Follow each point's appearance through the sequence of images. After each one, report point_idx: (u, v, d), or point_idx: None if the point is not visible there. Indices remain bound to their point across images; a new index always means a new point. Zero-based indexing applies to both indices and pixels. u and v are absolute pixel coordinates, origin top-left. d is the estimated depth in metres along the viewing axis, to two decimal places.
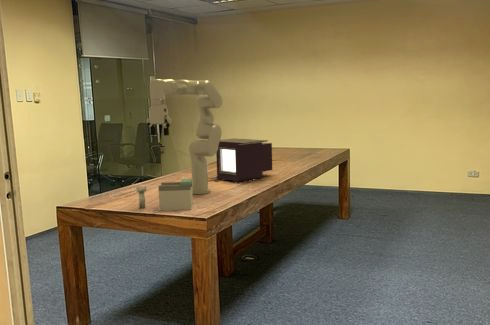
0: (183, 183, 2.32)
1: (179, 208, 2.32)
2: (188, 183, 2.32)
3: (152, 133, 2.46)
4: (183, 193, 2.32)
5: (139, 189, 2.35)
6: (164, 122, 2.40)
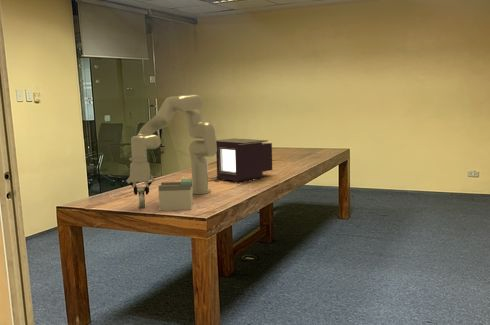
0: (183, 183, 2.32)
1: (179, 208, 2.32)
2: (188, 183, 2.32)
3: None
4: (183, 193, 2.32)
5: (139, 189, 2.35)
6: None
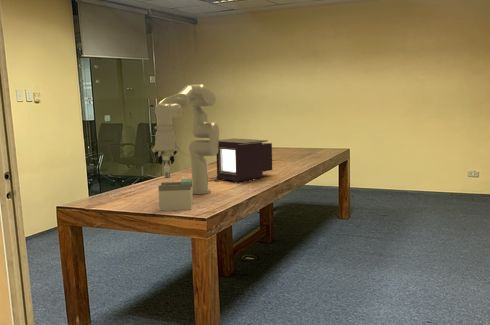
0: (183, 183, 2.32)
1: (179, 208, 2.32)
2: (188, 183, 2.32)
3: None
4: (183, 193, 2.32)
5: (164, 158, 2.32)
6: None
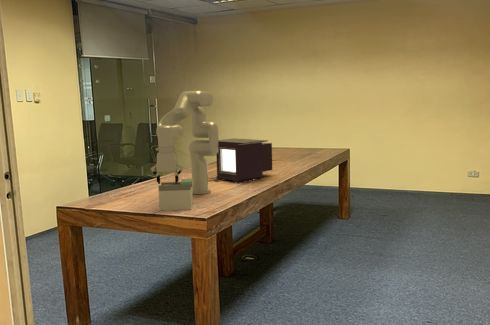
0: (183, 183, 2.32)
1: (179, 208, 2.32)
2: (188, 183, 2.32)
3: None
4: (183, 193, 2.32)
5: None
6: None
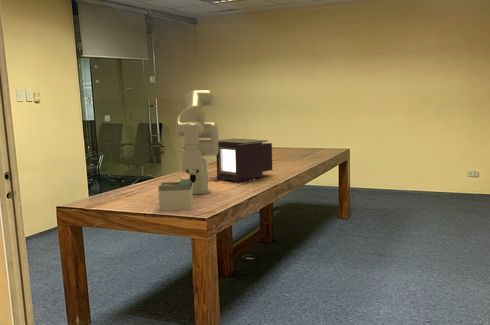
0: (182, 183, 2.32)
1: (179, 208, 2.32)
2: (187, 183, 2.32)
3: None
4: (183, 193, 2.32)
5: None
6: None
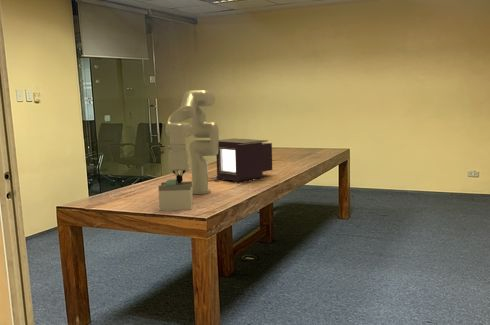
0: (168, 183, 2.32)
1: (179, 208, 2.32)
2: (173, 183, 2.32)
3: None
4: (183, 193, 2.32)
5: None
6: (175, 169, 2.36)
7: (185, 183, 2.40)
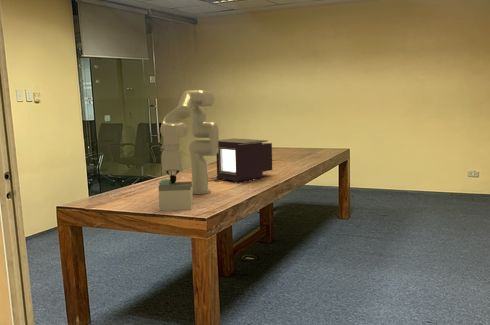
0: (162, 184, 2.32)
1: (179, 208, 2.32)
2: (167, 184, 2.32)
3: None
4: (183, 193, 2.32)
5: None
6: None
7: (185, 183, 2.40)
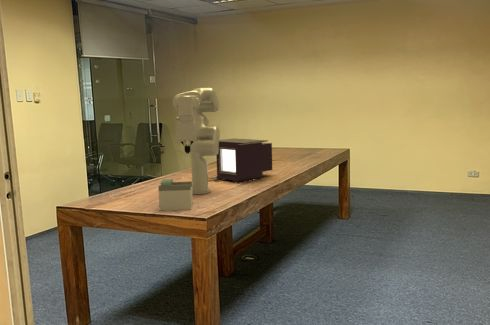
0: (163, 184, 2.32)
1: (179, 208, 2.32)
2: (168, 184, 2.32)
3: None
4: (183, 193, 2.32)
5: None
6: None
7: (185, 183, 2.40)
